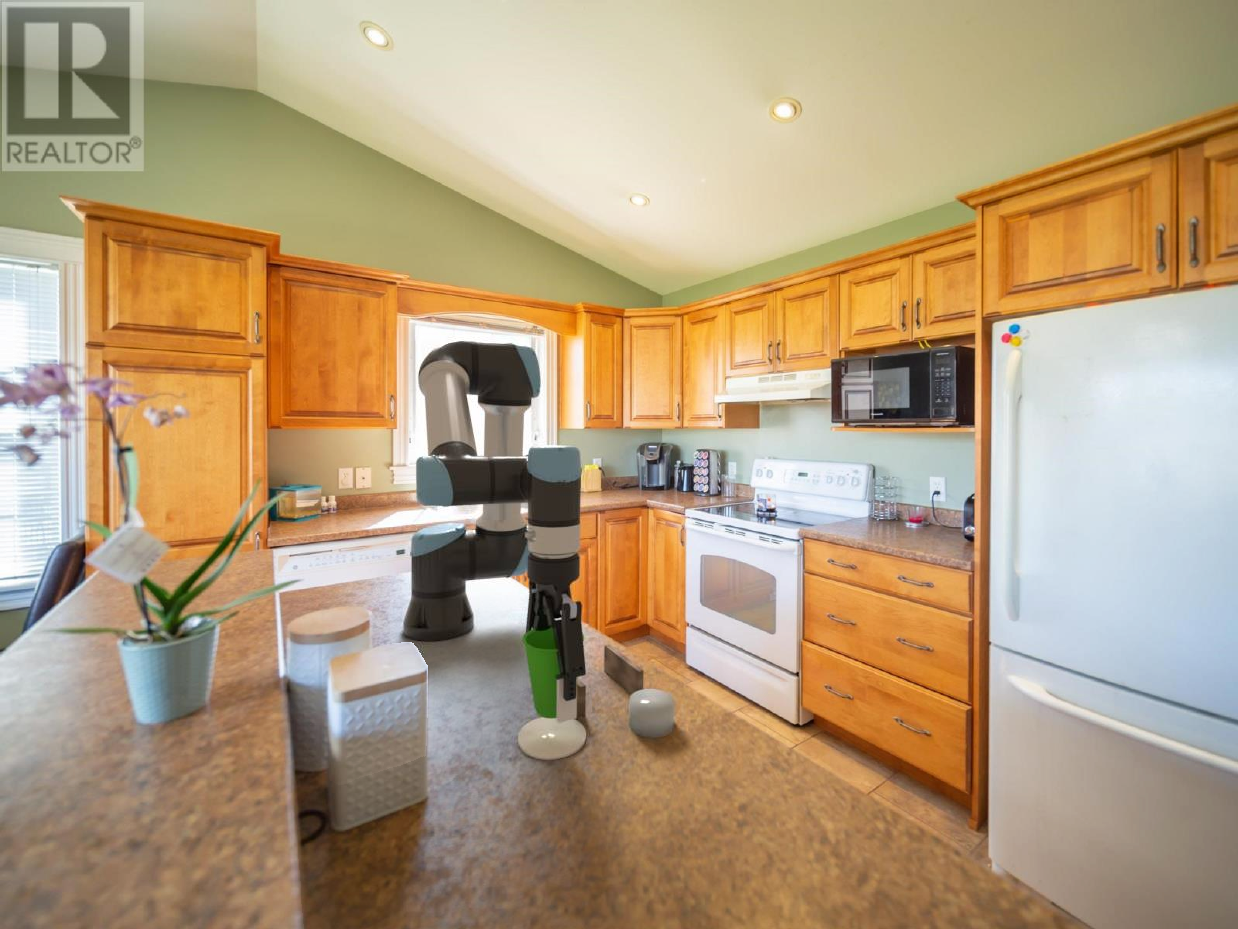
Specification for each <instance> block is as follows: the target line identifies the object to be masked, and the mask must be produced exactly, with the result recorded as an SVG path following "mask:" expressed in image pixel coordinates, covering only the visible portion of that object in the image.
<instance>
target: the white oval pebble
mask: <svg viewBox="0 0 1238 929" xmlns="http://www.w3.org/2000/svg"><path fill="white" fill-rule="evenodd" d="M586 742H587V730H586V728H585V726H584V725H583V723H581V722H580V721H578V720H576V718H574V719H571V720H568V721H564V722H561V723H558V722H557V718H551V719H549V718H544V717H541V716H540V717H538V718H535V719H532V720H531V721H529V722H528V723H526V724H524V726H522V727H521V729H520V730H519V732H518V734H517V744H518V747H519V749H520V750H521V752H523V754H524V755H526V756H528V757H531V758H533V759H537V760H543V761H554V760H561V759H565V758H568V757H570V756H573V755H574V754H576V753H578V752H579V751H580V750H581V749H582V748H583V747H584V746H585V744H586Z"/></svg>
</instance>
